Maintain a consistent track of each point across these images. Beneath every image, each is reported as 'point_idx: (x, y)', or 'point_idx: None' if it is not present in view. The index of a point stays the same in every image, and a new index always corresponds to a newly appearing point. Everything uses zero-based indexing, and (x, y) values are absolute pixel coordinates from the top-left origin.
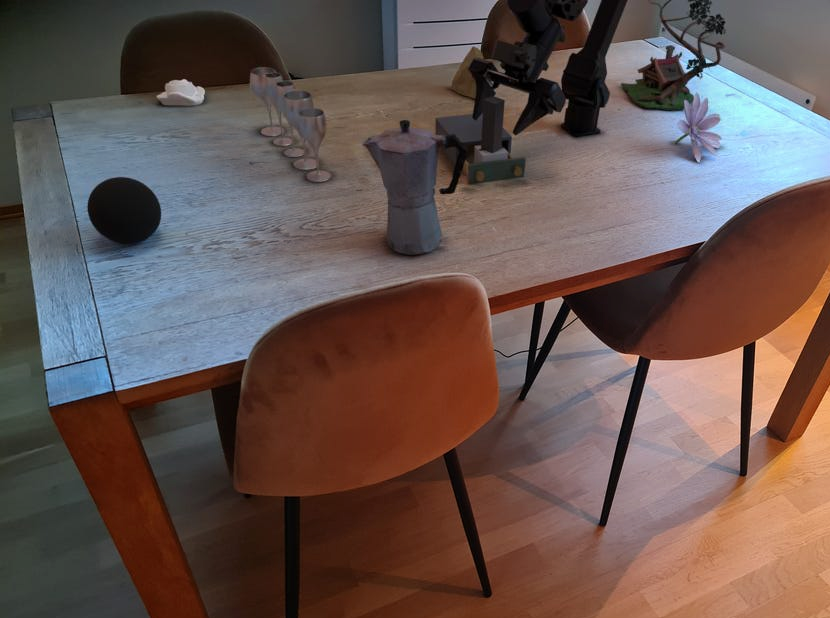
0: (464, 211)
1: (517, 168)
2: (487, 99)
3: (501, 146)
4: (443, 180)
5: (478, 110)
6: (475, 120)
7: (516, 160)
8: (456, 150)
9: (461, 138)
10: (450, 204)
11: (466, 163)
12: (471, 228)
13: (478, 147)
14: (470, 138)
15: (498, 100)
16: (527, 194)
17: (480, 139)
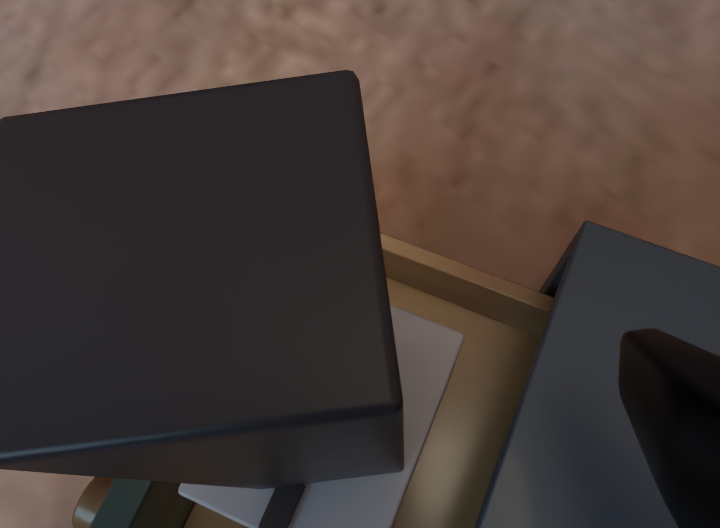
0: (176, 75)
1: (85, 490)
2: (291, 133)
3: (284, 522)
4: (511, 198)
5: (677, 422)
6: (620, 383)
7: (99, 515)
8: (567, 247)
9: (645, 322)
10: (275, 66)
11: (418, 247)
12: (50, 9)
13: (420, 340)
14: (595, 388)
15: (66, 299)
16: (34, 481)
17: (521, 454)
